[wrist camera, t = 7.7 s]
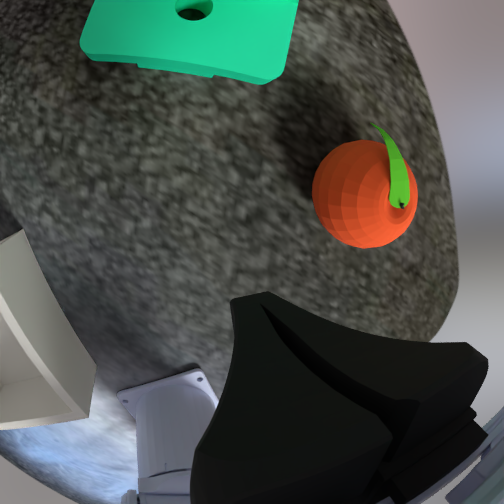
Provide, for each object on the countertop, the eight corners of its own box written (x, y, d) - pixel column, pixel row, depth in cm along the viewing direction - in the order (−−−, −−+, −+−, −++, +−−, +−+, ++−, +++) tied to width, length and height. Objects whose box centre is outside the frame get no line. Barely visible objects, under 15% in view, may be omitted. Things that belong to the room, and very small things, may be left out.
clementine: (287, 127, 19) (347, 121, 12) (369, 123, 20) (439, 124, 14) (298, 239, 22) (354, 279, 15) (374, 222, 23) (437, 250, 17)
